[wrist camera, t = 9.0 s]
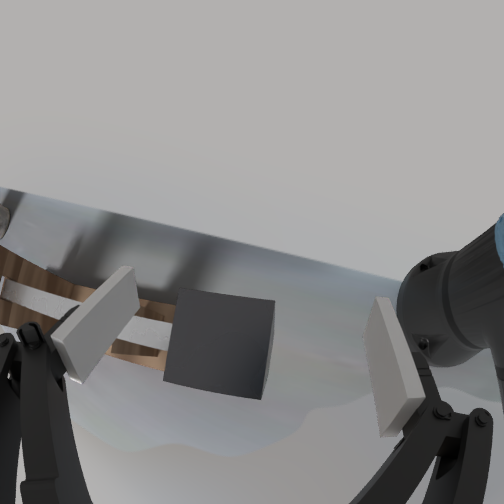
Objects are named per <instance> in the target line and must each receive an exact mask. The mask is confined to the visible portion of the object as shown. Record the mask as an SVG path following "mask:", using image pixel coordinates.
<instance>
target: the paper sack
mask: <svg viewBox="0 0 504 504" xmlns="http://www.w3.org/2000/svg"><path fill="white" fill-rule="evenodd" d="M9 220H10V213H9V210H8V208H5V207H3V206H2V205H1V204H0V239H1V238H2V237H3V235H4V234H5V232H6V230H7V227H8V224H9Z"/></svg>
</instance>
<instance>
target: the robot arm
mask: <svg viewBox="0 0 504 504" xmlns="http://www.w3.org/2000/svg"><path fill="white" fill-rule="evenodd" d="M139 308H140V303H139V298H138V292H137V286H136V280H135V273H134V267H129V266H121V267H120V268H119V269H118V270H117V271H116V272H115V273H114V274H113V275H112V276H111V277H109V278H108V279H107V280H106V281H105V282H104V283H103V284H102V285H101V286H100V287H99V288H98V289H97V290H96V291H95V292H94V293H92V294H91V295H90V296H89V297H88V298H87V299H86V300H85V301H84V302H83V303H82V304H81V305H76V306H75V307H73V308H71V309H70V310H68V311H67V312H66V313H65V314H64V316H62V317H61V318H60V319H59V321H57V322H56V323H55V324H54V325H53V326H52V327H51V328H50V329H49V331H48V332H47V333H46V334H45V335H44V334H43V332H42V329H41V327H40V325H39V324H38V323H37V322H34V321H32V322H27V323H24V324H23V325H21V326H20V327H19V328H18V330H17V332H16V333H17V335H18V337H19V339H20V341H21V342H16V340H15V338H14V336H13V335H12V334H11V333H3V334H1V335H0V504H15V498H16V478H17V467H18V457H19V449H20V442H21V438H22V449H23V458H24V466H25V473H26V480H25V481H22V482H21V484H20V492H21V496H22V502H23V504H93V503H92V501H91V498H90V496H89V492H88V490H87V486H86V483H85V479H84V476H83V472H82V469H81V465H80V461H79V457H78V453H77V449H76V444H75V440H74V436H73V430H72V424H71V419H70V413H69V406H68V399H67V392H66V383H65V378H64V376H63V375H64V373H65V372H66V371H67V373H68V375H69V377H70V379H71V380H74V381H76V382H78V383H81V384H83V383H84V382H85V380H86V379H87V377H88V376H89V375H90V373H91V372H92V370H93V369H94V368H95V366H96V365H97V364H98V362H99V361H100V359H101V358H102V357H103V355H104V354H105V353H106V351H107V350H108V349H109V347H110V346H111V345H112V343H113V342H114V341H115V339H116V338H117V337H118V335H119V334H120V333H121V331H122V330H123V329H124V328H125V326H126V325H127V324H128V322H129V321H130V320H131V318H132V317H133V316H134V315H135V313H136V312H137V311H138V310H139ZM362 338H363V342H364V347H365V352H366V357H367V361H368V366H369V372H370V377H371V382H372V388H373V393H374V399H375V405H376V411H377V418H378V425H379V431H380V437H394V436H397V435H398V434H399V433H400V431H401V430H403V435H404V437H403V438H402V439H401V440H400V442H399V443H398V444H397V445H396V446H395V447H394V450H393V452H392V453H391V455H390V456H389V457H388V459H387V460H386V461H385V463H384V464H383V465H382V466H381V468H380V469H379V470H378V471H377V473H376V474H375V475H374V476H373V478H372V479H371V480H370V481H369V482H368V483H367V485H366V486H365V487H364V488H363V489H362V490H361V491H360V493H359V494H358V495H357V496H356V497H355V498H354V499H353V500H352V501H351V502H350V503H349V504H406V502H407V501H408V499H409V498H410V496H411V495H412V493H413V492H414V490H415V489H416V487H417V486H418V484H419V483H420V481H421V480H422V478H423V476H424V475H425V473H426V471H427V470H428V468H429V466H430V465H431V463H432V461H433V459H434V458H435V456H437V458H436V462H435V466H434V469H433V473H432V476H431V479H430V483H429V485H428V489H427V492H426V494H425V498H424V500H423V503H422V504H483V499H484V494H485V489H486V484H487V479H488V472H489V465H490V456H491V448H492V435H493V418H492V416H491V414H490V413H489V412H488V411H487V410H485V409H483V408H476V409H474V410H473V411H472V412H471V413H470V414H469V415H465V414H460V413H456V412H454V411H453V409H452V407H451V406H450V405H449V404H448V403H446V402H444V401H441V398H440V395H439V392H438V389H437V387H436V384H435V381H434V378H433V376H432V373H431V370H429V366H433V367H452V366H456V365H459V364H462V363H464V362H466V361H467V360H469V359H470V358H472V357H473V356H475V355H476V354H477V353H479V352H480V351H482V350H483V349H486V348H490V349H491V353H492V356H493V360H494V364H495V369H496V373H497V379H498V384H499V389H500V394H501V400H502V406H503V413H504V214H502V216H500V218H499V220H498V221H497V223H496V224H494V225H493V226H492V227H490V228H489V229H488V230H487V231H486V232H484V233H483V234H482V235H480V236H479V237H478V238H476V239H475V240H473V241H472V242H471V243H469V244H468V245H466V246H465V247H464V248H462V249H461V250H460V251H454V252H445V253H437V254H434V255H431V256H429V257H427V258H425V259H424V260H422V261H421V262H420V263H418V264H417V265H416V266H414V267H413V268H412V269H411V270H410V272H409V273H408V274H407V276H406V277H405V279H404V281H403V283H402V285H401V288H400V291H399V294H398V299H397V316H396V314H395V311H394V309H393V306H392V304H391V302H390V299H389V298H386V297H375V300H374V303H373V307H372V310H371V313H370V316H369V319H368V322H367V325H366V328H365V331H364V334H363V337H362ZM8 373H9V374H10V378H9V379H8V378H7V377H8Z"/></svg>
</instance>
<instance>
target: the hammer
mask: <svg viewBox="0 0 504 504" xmlns="http://www.w3.org/2000/svg"><path fill="white" fill-rule="evenodd" d="M1 297H3V298H5V299H8V300H10V301H12V302H15V303H17V304H19V305H22V306H24V307H27V308H29V309H32V310H34V311H37V312H39V313H42V314H45V315H47V316H50V317H53V318H55V319H58V320H59V319H60V318H61V317H62V316H64V314H65V313H66V312H67V311H68V310H70V309H71V308H73V307H75V306H76V305H81V304H82V302H78V301H75V300H71V299H68V298H64V297H61V296H57V295H54V294H51V293H48V292H44V291H41V290H38V289H35V288H32V287H29V286H26V285H23V284H20V283H17V282H14V281H11V280H8V279H5V283H4V287H3V291H2V295H1ZM274 320H275V301H273V300H264V299H256V298H248V297H241V296H233V295H226V294H218V293H211V292H204V291H198V290H191V289H184V288H179V293H178V298H177V303H176V308H175V313H174V318H173V324H172V323H167V322H162V321H157V320H152V319H147V318H143V317H138V316H133V317H132V318H131V320H130V321H129V322H128V324H127V325H126V326H125V328H124V329H123V330H122V331H121V333H120V334H119V335H118V337H117V338H118V339H121V340H125V341H129V342H132V343H136V344H140V345H144V346H148V347H152V348H156V349H160V350H165V351H168V352H167V358H166V364H165V371H164V377H163V381H166V382H170V383H174V384H178V385H182V386H186V387H191V388H195V389H200V390H205V391H210V392H215V393H221V394H226V395H232V396H238V397H244V398H251V399H258V400H261V398H262V395H263V391H264V388H265V384H266V381H267V377H268V373H269V366H270V359H271V352H272V345H273V337H274Z"/></svg>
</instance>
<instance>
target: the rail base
mask: <svg viewBox="0 0 504 504" xmlns="http://www.w3.org/2000/svg"><path fill="white" fill-rule="evenodd" d="M2 276H4V277H5V279H8V280H11V281H14V282H17V283H20V284H23V285H26V286H29V287H32V288H35V289H38V290H41V291H44V292H48V293H51V294H54V295H57V296H61V297H64V298H68V299H71V300H75V301H78V302H82V303H83V302H84V301H85V300H86V299H87V298H88V297H89V296H90V295H91V294H92V293H94V292H95V291H96V290H97V289H92V288H88V287H84V286H80V285H76V284H73V283H71V282H69V281H66V280H64V279H62V278H60V277H58V276H56V275H54V274H52V273H50V272H48V271H46V270H44V269H43V268H41V267H39V266H37V265H35V264H33V263H31V262H29V261H27V260H26V259H24V258H22V257H20V256H18V255H17V254H15V253H13V252H11V251H9V250H8V249H6V248H4V247H3V246H1V245H0V281H1V277H2ZM5 279H4V282H3V287H4V283H5ZM3 287H2V291H3ZM2 291H1V295H2ZM1 295H0V324H1V325H4V326H8V327H12V328H16V329H18V328H19V327H20V326H21V325H23V324H24V323H27V322H32V321H34V322H37V323H38V324H39V325H40V327H41V329H42V332H43V334H44V335H45V334H46V333H47V332H48V331H49V329H50V328H51V327H52V326H53V325H54V324H55V323H56V322H57V321H59V320H58V319H55V318H53V317H50V316H47V315H45V314H42V313H39V312H37V311H34V310H32V309H29V308H27V307H24V306H22V305H19V304H17V303H15V302H12V301H10V300H8V299H5V298H3V297H1ZM139 303H140V308H139V310H138V311H137V312H136V313H135V315H134V316H138V317H143V318H147V319H152V320H157V321H162V322H167V323H172V324H173V318H174V313H175V308H176V305H171V304H166V303H160V302H155V301H149V300H144V299H139ZM167 352H168V351H165V350H160V349H156V348H152V347H148V346H144V345H140V344H136V343H132V342H129V341H125V340H121V339H118V338H116V339H115V341H114V342H113V343H112V345H111V346H110V347H109V349H108V350H107V351H106V353H105V354H106V355H109V356H112V357H115V358H118V359H122V360H125V361H128V362H132V363H135V364H139V365H142V366H146V367H150V368H154V369H157V370H161V371H165V364H166V358H167Z"/></svg>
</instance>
